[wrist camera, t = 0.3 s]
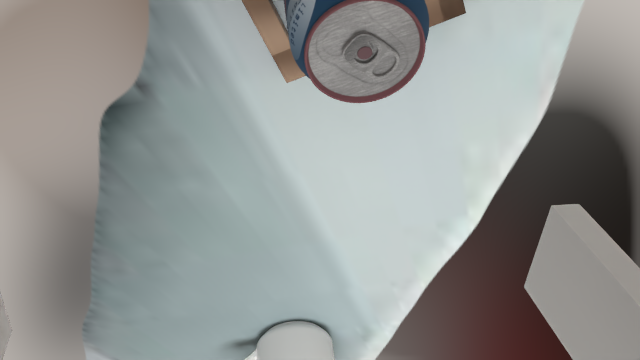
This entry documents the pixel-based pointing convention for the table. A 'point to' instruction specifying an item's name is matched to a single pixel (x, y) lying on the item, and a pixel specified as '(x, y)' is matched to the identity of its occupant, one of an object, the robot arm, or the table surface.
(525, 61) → the table surface
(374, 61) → the soda can
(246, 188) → the table surface
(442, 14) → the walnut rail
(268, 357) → the mug
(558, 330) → the robot arm
